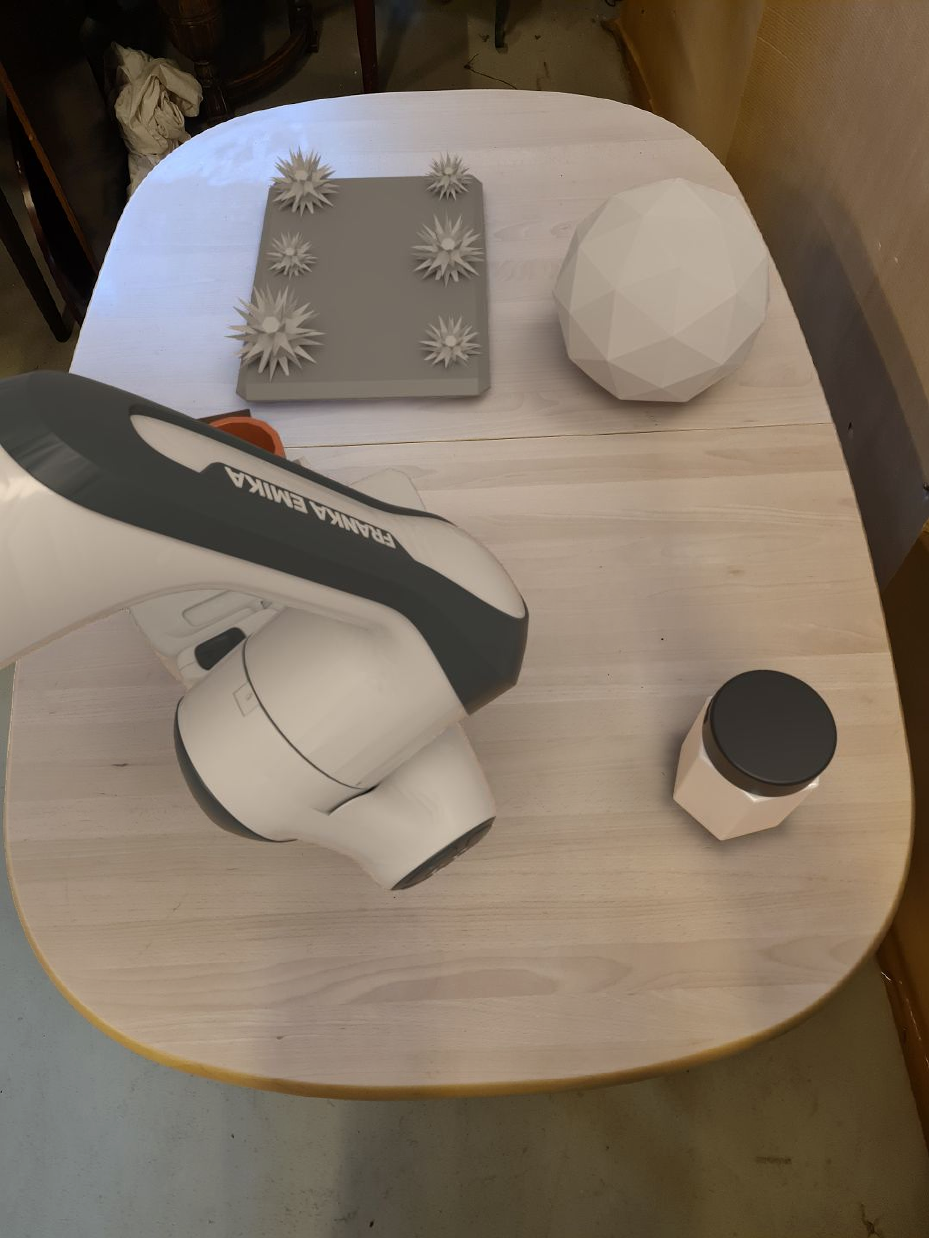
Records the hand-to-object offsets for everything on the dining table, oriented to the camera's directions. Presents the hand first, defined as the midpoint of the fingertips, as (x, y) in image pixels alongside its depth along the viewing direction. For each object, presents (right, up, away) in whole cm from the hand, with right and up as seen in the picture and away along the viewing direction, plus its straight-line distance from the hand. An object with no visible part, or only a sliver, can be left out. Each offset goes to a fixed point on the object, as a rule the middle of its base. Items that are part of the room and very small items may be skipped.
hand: (243, 488), depth 60 cm
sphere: (+34, +16, +28) cm, 47 cm away
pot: (+1, -3, +4) cm, 6 cm away
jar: (+36, -22, +6) cm, 42 cm away
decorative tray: (+5, +27, +34) cm, 44 cm away
